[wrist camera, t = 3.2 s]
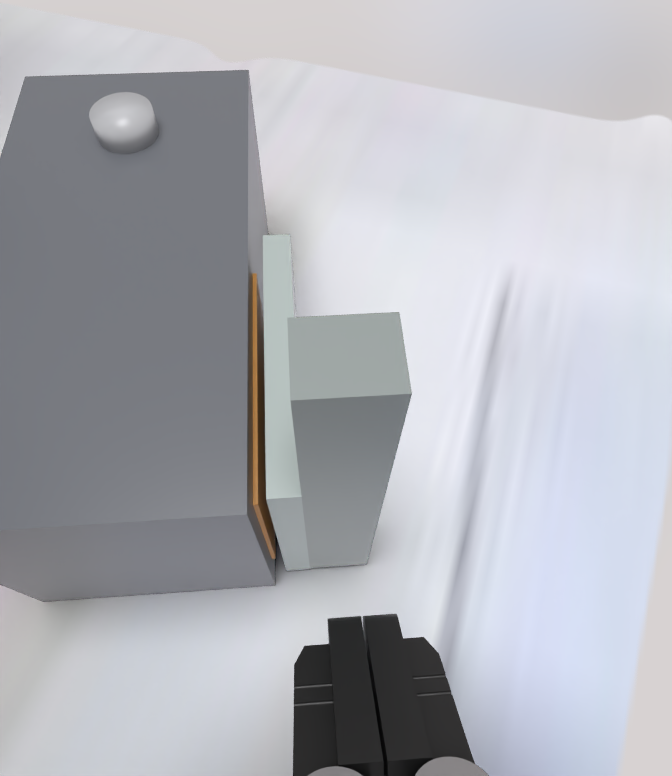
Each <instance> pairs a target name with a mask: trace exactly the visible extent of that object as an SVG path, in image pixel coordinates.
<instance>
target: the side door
mask: <svg viewBox="0 0 672 776" xmlns="http://www.w3.org/2000/svg"><path fill="white" fill-rule="evenodd" d="M263 299H264V376H265V453H266V500H267V504H268V508H269V511H270V515H271V518H272V522H273V525H274V529H275V532H276V536H277V540H278V543H279V547H280V550H281V554H282V557H283V561H284V564H285V568H286V571H291V570H305V569H310V568H319V567H334V566H348V565H362V564H367V561H368V557H369V554H370V550H371V546H372V542H373V538H374V535H375V531H376V527H377V523H378V520H379V516H380V512H381V508H382V504H383V501H384V497H385V493H386V489H387V485H388V482H389V478H390V474H391V470H392V467H393V463H394V459H395V455H396V451H397V448H398V444H399V440H400V436H401V432H402V429H403V425H404V421H405V417H406V414H407V410H408V406H409V402H410V398H411V395H412V392H411V386H410V379H409V372H408V366H407V359H406V353H405V346H404V340H403V333H402V327H401V320H400V314H399V312H390V313H370V314H350V315H330V316H310V317H296V305H295V292H294V279H293V265H292V252H291V239H290V234H280V235H263Z"/></svg>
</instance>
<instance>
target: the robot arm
mask: <svg viewBox="0 0 672 776" xmlns="http://www.w3.org/2000/svg"><path fill="white" fill-rule="evenodd" d="M328 636H329V644H324V645H311V646H304V648H303V650H302V652H301V654H300V655H299V657H298V659H297V661H296V663H295V665H294V746H293V776H489V775H488V774H487V773H486V772H485V771H484V770H483V769H481V768H480V767H479V766H477V765H476V764H475V763H474V760H473V758H472V755H471V752H470V748H469V745H468V742H467V739H466V736H465V733H464V730H463V727H462V724H461V721H460V718H459V714H458V711H457V708H456V705H455V702H454V699H453V696H452V695H451V690H450V687H449V684H448V681H447V678H446V676H445V671H444V668H443V665H442V662H441V659H440V656H439V653H438V652H437V651H436V650H435V649H434V648H433V647H432V646H431V645H430V644H429V643H428V641H427V640H426V639H425V638H424V637H419V638H405V639H403V637H402V633H401V629H400V625H399V621H398V617H397V614H386V615H372V616H363V627H362V621H361V616H357V617H343V618H330V619H328Z"/></svg>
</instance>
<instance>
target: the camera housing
mask: <svg viewBox="0 0 672 776" xmlns="http://www.w3.org/2000/svg"><path fill="white" fill-rule="evenodd" d="M263 235H268V226H267V218H266V210H265V201H264V193H263V185H262V177H261V169H260V160H259V152H258V144H257V136H256V127H255V119H254V111H253V103H252V95H251V86H250V78H249V70H232V71H199V72H165V73H132V74H98V75H64V76H31V77H25V79H24V82H23V85H22V89H21V92H20V95H19V98H18V102H17V105H16V108H15V111H14V115H13V118H12V121H11V124H10V128H9V131H8V134H7V138H6V141H5V144H4V147H3V151H2V154H1V157H0V585H3V586H5V587H8V588H10V589H13V590H15V591H18V592H20V593H23V594H25V595H28V596H30V597H33V598H35V599H38V600H40V601H43V602H46V601H60V600H74V599H88V598H102V597H117V596H131V595H145V594H159V593H173V592H187V591H201V590H216V589H230V588H244V587H258V586H272V585H275V559H276V547H275V529H274V525H273V522H272V518H271V515H270V511H269V508H268V504H267V500H266V453H265V376H264V299H263Z"/></svg>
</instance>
